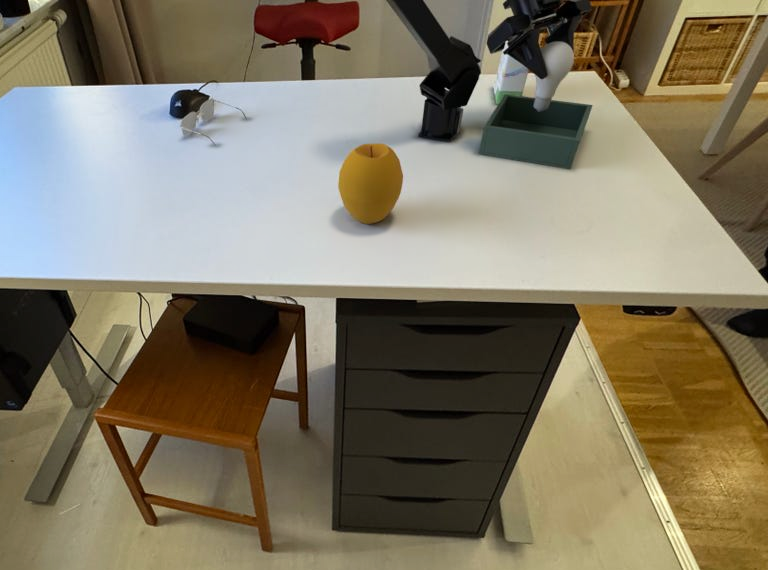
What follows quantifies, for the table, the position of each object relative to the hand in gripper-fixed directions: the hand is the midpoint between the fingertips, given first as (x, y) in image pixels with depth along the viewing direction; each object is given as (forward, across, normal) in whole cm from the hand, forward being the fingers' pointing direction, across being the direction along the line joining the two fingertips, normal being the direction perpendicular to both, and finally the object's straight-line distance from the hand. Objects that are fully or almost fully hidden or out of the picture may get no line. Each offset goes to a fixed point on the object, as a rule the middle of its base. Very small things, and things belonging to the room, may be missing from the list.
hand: (557, 73), depth 90 cm
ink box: (-5, +13, +22) cm, 26 cm away
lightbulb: (+4, 0, +6) cm, 7 cm away
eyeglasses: (-23, -44, +41) cm, 64 cm away
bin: (+8, 0, +10) cm, 12 cm away
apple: (+10, -39, +9) cm, 41 cm away
